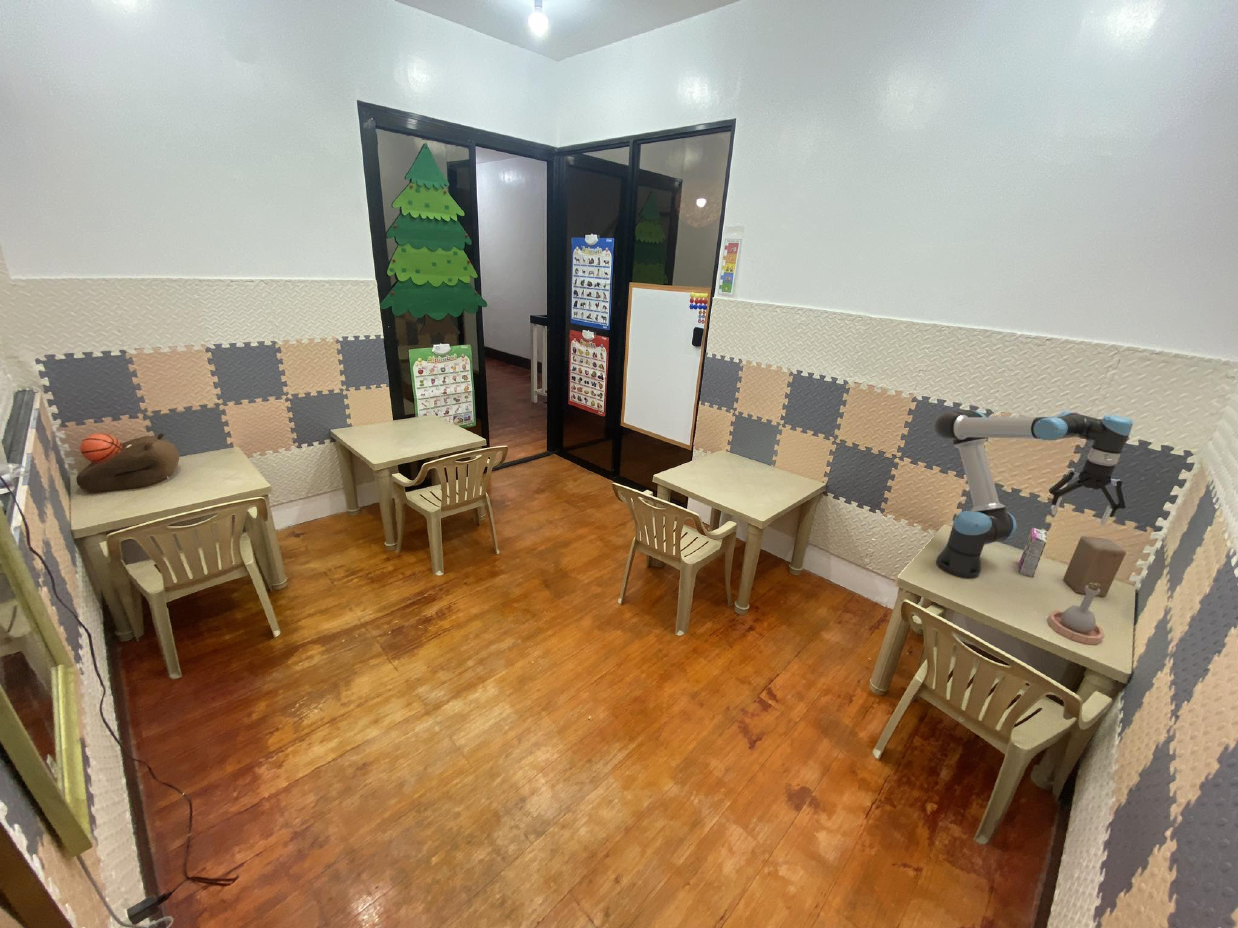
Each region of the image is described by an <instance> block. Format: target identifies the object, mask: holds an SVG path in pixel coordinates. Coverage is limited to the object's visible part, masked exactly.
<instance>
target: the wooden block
mask: <svg viewBox="0 0 1238 928" xmlns="http://www.w3.org/2000/svg"><path fill="white" fill-rule="evenodd" d="M1126 554H1127V551H1126V550H1125V549H1123V548H1122V547H1120V546H1119V545H1117V544H1116V543H1115V542H1114V541H1112V539H1110V538H1109V539H1108V538H1101V537H1093V536H1085V535H1082V536H1080V538H1079V539H1078V543H1077V545H1076V547H1075V550H1074V552H1073V554H1072V556H1071V559H1070V561H1069V564H1068V566H1067V569H1065V570H1066V571H1065V573H1064V576H1063V581H1064V582H1065V583H1066V584H1067V585H1069V587H1071V589H1073V590H1074V591H1075V592H1076V593H1079V594H1083V595H1084V594H1086V592H1085V586H1086V585H1089V583H1098V584H1100V587H1099V588H1098V589H1100V592H1099V594H1098V595H1096V596H1098V597H1106V596H1107V594H1108V592H1109V590H1110V588H1111V586H1112V584H1113V582H1114V580H1115V577H1116V576H1117V573H1118V572H1119V568H1120V567H1121V565H1122V564H1123V563H1122V562H1123V561H1124V558H1125V557H1126Z"/></svg>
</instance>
